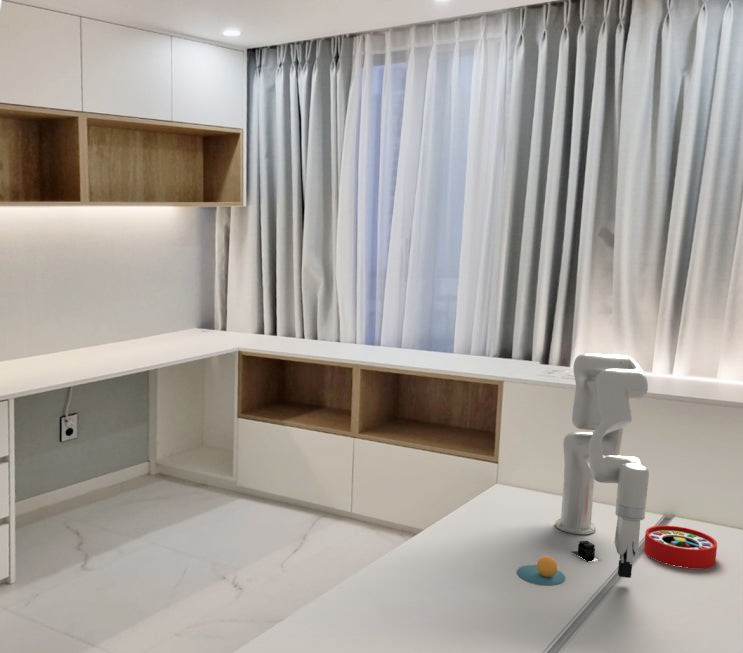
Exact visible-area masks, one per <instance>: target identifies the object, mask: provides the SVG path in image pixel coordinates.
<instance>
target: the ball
mask: <svg viewBox="0 0 743 653" xmlns="http://www.w3.org/2000/svg"><path fill="white" fill-rule="evenodd" d="M536 565H537V570H538V572H539V573H540V574H541V575H542V576H544V577H552V576H553V575H555V573H556V572H557V570H558V564H557V561H556V560H555V559H554V558H553V557H552V556H546V555H545V556H543V557H542V556H541V557H540V558H539V559H538V561H537V563H536Z"/></svg>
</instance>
